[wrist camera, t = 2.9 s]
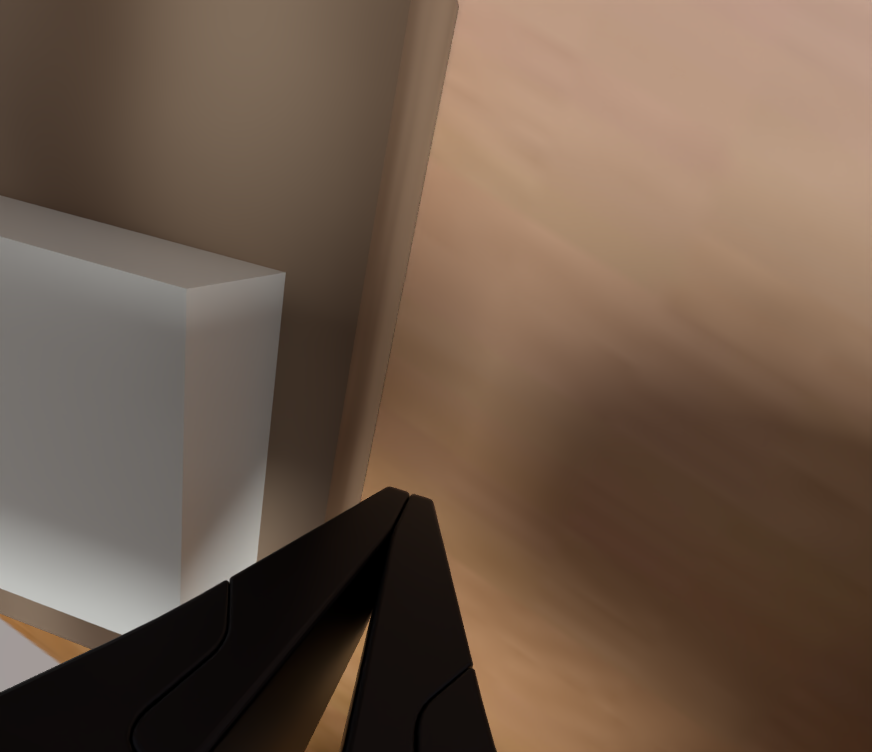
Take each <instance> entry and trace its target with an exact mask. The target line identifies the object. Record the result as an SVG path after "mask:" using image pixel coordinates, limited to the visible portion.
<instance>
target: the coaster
mask: <svg viewBox="0 0 872 752" xmlns="http://www.w3.org/2000/svg"><path fill="white" fill-rule="evenodd" d="M285 276H286V272H282V271H279V270H275V269H271V268H268V267H264V266H260V265H256V264H253V263H249V262H245V261H242V260H238V259H234V258H231V257H227V256H223V255H219V254H216V253H212V252H208V251H205V250H201V249H197V248H193V247H190V246H186V245H182V244H179V243H175V242H171V241H167V240H164V239H160V238H156V237H153V236H149V235H145V234H142V233H138V232H134V231H130V230H127V229H123V228H119V227H116V226H112V225H108V224H104V223H101V222H97V221H93V220H90V219H86V218H82V217H79V216H75V215H71V214H67V213H64V212H60V211H56V210H53V209H49V208H45V207H41V206H38V205H34V204H30V203H27V202H23V201H19V200H16V199H12V198H8V197H4V196H1V195H0V588H1V589H3V590H6V591H9V592H11V593H14V594H16V595H19V596H22V597H24V598H27V599H29V600H32V601H35V602H37V603H40V604H43V605H45V606H48V607H50V608H53V609H56V610H58V611H61V612H64V613H66V614H69V615H71V616H74V617H77V618H79V619H82V620H84V621H87V622H90V623H92V624H95V625H98V626H100V627H103V628H105V629H108V630H111V631H113V632H116V633H119V634H121V635H123V634H125V633H127V632H129V631H131V630H133V629H135V628H137V627H139V626H141V625H143V624H145V623H147V622H149V621H151V620H153V619H155V618H157V617H159V616H161V615H163V614H165V613H167V612H169V611H170V610H172V609H174V608H176V607H178V606H180V605H181V604H183V603H185V602H187V601H189V600H191V599H192V598H194V597H196V596H198V595H200V594H202V593H203V592H205V591H207V590H209V589H210V588H212V587H214V586H216V585H217V584H219V583H221V582H222V581H224V580H227V581H229V579H230V578H231V577H232V576H233V575H235V574H237V573H239V572H240V571H242V570H244V569H246V568H247V567H249V566H251V565H252V564H254V563H256V562H257V553H258V543H259V533H260V524H261V514H262V504H263V494H264V484H265V474H266V464H267V454H268V444H269V434H270V424H271V414H272V405H273V395H274V385H275V375H276V365H277V355H278V345H279V335H280V325H281V315H282V305H283V295H284V286H285Z"/></svg>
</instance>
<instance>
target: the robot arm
mask: <svg viewBox="0 0 872 752" xmlns="http://www.w3.org/2000/svg"><path fill="white" fill-rule="evenodd" d="M370 617H371V618H370ZM369 619H370V622H369ZM368 622H369V626H368V631H367V635H366V639H365V643H364V648H363V652H362V656H361V660H360V665H359V669H358V673H357V678H356V682H355V686H354V691H353V695H352V699H351V703H350V708H349V712H348V716H347V721H346V725H345V729H344V734H343V738H342V742H341V746H340V751H339V752H497V751H496V748H495V745H494V741H493V737H492V734H491V730H490V727H489V723H488V719H487V716H486V712H485V709H484V705H483V701H482V698H481V694H480V690H479V685H478V681H477V677H476V673H475V670H474V669H473V668H472V667H473V662H472V658H471V654H470V650H469V646H468V642H467V638H466V634H465V629H464V625H463V621H462V617H461V613H460V609H459V605H458V601H457V597H456V593H455V589H454V585H453V580H452V576H451V572H450V568H449V564H448V560H447V556H446V552H445V548H444V544H443V540H442V536H441V531H440V527H439V523H438V519H437V515H436V511H435V507H434V503H433V501H432V500H431V499H428V498H425V497H422V496H419V495H416V494H412V495H411V496H410V495H409V493H408V492H406V491H403V490H400V489H397V488H394V487H386V488H384V489H383V490H381V491H379V492H378V493H376V494H374V495H372V496H371V497H369V498H367V499H365V500H364V501H362V502H360V503H358V504H357V505H355V506H353V507H351V508H350V509H348V510H346V511H345V512H343V513H341V514H339V515H338V516H336V517H334V518H332V519H331V520H329V521H327V522H325V523H324V524H322V525H320V526H318V527H317V528H315V529H313V530H312V531H310V532H308V533H306V534H305V535H303V536H301V537H299V538H298V539H296V540H294V541H292V542H291V543H289V544H287V545H285V546H284V547H282V548H280V549H279V550H277V551H275V552H273V553H272V554H270V555H268V556H266V557H265V558H263V559H261V560H259V561H258V562H256V563H254V564H252V565H251V566H249V567H247V568H246V569H244V570H242V571H240V572H239V573H237V574H235V575H233V576H232V577H231V578H230V579H229V581H227V580H224V581H222V582H221V583H219V584H217V585H216V586H214V587H212V588H210V589H209V590H207V591H205V592H203V593H202V594H200V595H198V596H196V597H194V598H192V599H191V600H189V601H187V602H185V603H183V604H181V605H180V606H178V607H176V608H174V609H172V610H170V611H169V612H167V613H165V614H163V615H161V616H159V617H157V618H155V619H153V620H151V621H149V622H147V623H145V624H143V625H141V626H139V627H137V628H135V629H133V630H131V631H129V632H127V633H125V634H123V635H121V636H119V637H117V638H115V639H113V640H111V641H109V642H107V643H104V644H102V645H100V646H98V647H96V648H94V649H92V650H90V651H87V652H85V653H83V654H81V655H79V656H77V657H75V658H72V659H70V660H68V661H66V662H64V663H62V664H60V665H58V666H55V667H53V668H51V669H49V670H47V671H45V672H43V673H40V674H38V675H37V676H34V677H32V678H30V679H28V680H26V681H23V682H21V683H19V684H17V685H15V686H13V687H11V688H8V689H6V690H4V691H2V692H0V752H304V751H305V749H306V747H307V745H308V743H309V741H310V739H311V737H312V735H313V733H314V731H315V729H316V727H317V725H318V723H319V721H320V719H321V717H322V715H323V713H324V711H325V709H326V707H327V705H328V703H329V701H330V699H331V697H332V695H333V693H334V691H335V689H336V687H337V685H338V683H339V681H340V679H341V677H342V675H343V673H344V671H345V669H346V667H347V665H348V663H349V661H350V659H351V657H352V655H353V653H354V651H355V649H356V647H357V645H358V643H359V641H360V639H361V637H362V635H363V632H364V630H365V628H366V626H367V624H368Z"/></svg>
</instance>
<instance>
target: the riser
mask: <svg viewBox="0 0 872 752" xmlns="http://www.w3.org/2000/svg"><path fill="white" fill-rule="evenodd" d="M458 8H459V4H458V1H457V0H0V195H1V196H4V197H8V198H12V199H16V200H19V201H23V202H27V203H30V204H34V205H38V206H41V207H45V208H49V209H53V210H56V211H60V212H64V213H67V214H71V215H75V216H79V217H82V218H86V219H90V220H93V221H97V222H101V223H104V224H108V225H112V226H116V227H119V228H123V229H127V230H130V231H134V232H138V233H142V234H145V235H149V236H153V237H156V238H160V239H164V240H167V241H171V242H175V243H179V244H182V245H186V246H190V247H193V248H197V249H201V250H205V251H208V252H212V253H216V254H219V255H223V256H227V257H231V258H234V259H238V260H242V261H245V262H249V263H253V264H256V265H260V266H264V267H268V268H271V269H275V270H279V271H282V272H286V276H285V286H284V295H283V305H282V315H281V325H280V335H279V345H278V355H277V365H276V375H275V385H274V395H273V405H272V414H271V424H270V434H269V444H268V454H267V464H266V474H265V484H264V494H263V504H262V514H261V524H260V533H259V543H258V553H257V562H258V561H259V560H261V559H263V558H265V557H266V556H268V555H270V554H272V553H273V552H275V551H277V550H279V549H280V548H282V547H284V546H285V545H287V544H289V543H291V542H292V541H294V540H296V539H298V538H299V537H301V536H303V535H305V534H306V533H308V532H310V531H312V530H313V529H315V528H317V527H318V526H320V525H322V524H324V523H325V522H327V521H329V520H331V519H332V518H334V517H336V516H338V515H339V514H341V513H343V512H345V511H346V510H348V509H350V508H351V507H353V506H355V505H357V504H358V503H360V501H361V496H362V491H363V486H364V481H365V476H366V471H367V466H368V461H369V456H370V451H371V446H372V441H373V436H374V431H375V426H376V421H377V415H378V410H379V405H380V400H381V395H382V390H383V385H384V380H385V375H386V370H387V365H388V360H389V355H390V350H391V345H392V340H393V335H394V330H395V325H396V320H397V315H398V310H399V305H400V300H401V295H402V290H403V285H404V280H405V275H406V270H407V265H408V260H409V255H410V250H411V245H412V240H413V235H414V229H415V224H416V219H417V214H418V209H419V204H420V199H421V194H422V189H423V184H424V179H425V174H426V169H427V164H428V159H429V154H430V149H431V144H432V139H433V134H434V129H435V124H436V119H437V114H438V109H439V104H440V99H441V94H442V89H443V84H444V79H445V74H446V69H447V64H448V59H449V54H450V49H451V43H452V38H453V33H454V28H455V23H456V18H457V13H458ZM0 614H2V615H5V616H8V617H10V618H13V619H15V620H18V621H20V622H23V623H26V624H28V625H31V626H33V627H36V628H38V629H41V630H44V631H46V632H49V633H51V634H54V635H56V636H59V637H62V638H64V639H67V640H69V641H72V642H74V643H77V644H80V645H82V646H85V647H87V648H90V649H94V648H96V647H98V646H100V645H102V644H104V643H107V642H109V641H111V640H113V639H115V638H117V637H119V636H121V634H119V633H116V632H113V631H111V630H108V629H105V628H103V627H100V626H98V625H95V624H92V623H90V622H87V621H84V620H82V619H79V618H77V617H74V616H71V615H69V614H66V613H64V612H61V611H58V610H56V609H53V608H50V607H48V606H45V605H43V604H40V603H37V602H35V601H32V600H29V599H27V598H24V597H22V596H19V595H16V594H14V593H11V592H9V591H6V590H3V589H1V588H0Z"/></svg>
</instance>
